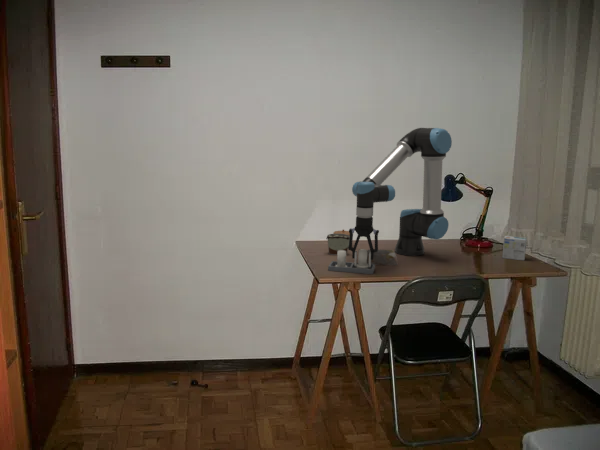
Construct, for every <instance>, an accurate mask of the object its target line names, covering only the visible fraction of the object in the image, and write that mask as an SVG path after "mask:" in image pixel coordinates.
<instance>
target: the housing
mask: <svg viewBox="0 0 600 450" xmlns="http://www.w3.org/2000/svg"><path fill="white" fill-rule="evenodd" d="M336 256H337V257H336V258H337V259H336V260H332V261H330V263H329V264H328V266H327V267H328V268H327V271H328V272H330V271H331V272H341V273H342V272H343V273H353V274H354V273H355V274H365V275H367V274H368V275H373V274H374V272H375V270H376V265H375V264H371V266H370V267H369V268H367V269H362V268H357V267H356V266H354V262H352V261H347V255H346V251H344V250H339V251H337V255H336ZM357 264H358V262H357ZM367 264H368V265H369V263H367Z"/></svg>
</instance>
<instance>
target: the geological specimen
mask: <svg viewBox="0 0 600 450" xmlns="http://www.w3.org/2000/svg"><path fill="white" fill-rule="evenodd" d="M369 252H371V251H370V249H367V263H369ZM371 264H375V266H398V265H399V263H398V257H397V253H396V252H395V250H393V249H378V251H377V252H375V253H374V258H373V260H371Z"/></svg>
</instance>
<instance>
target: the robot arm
mask: <svg viewBox="0 0 600 450" xmlns="http://www.w3.org/2000/svg"><path fill="white" fill-rule="evenodd" d="M452 141H453V140H452V135H451V134H450V133H449V132H448V130H446V129H445V128H439V127H417V128H415V129H413V130H411V131H409V132H408V133H406V134H405V135H404V136H402V138H401V139H399V140H398V142H396V146H395V147H394V148H393V149H392V151H390V153H388V154H387V156H386V157H384V159H383V160H382V161H381V162H380V163H379V164H378V165H377V166H376V167H375V168H374V169H373V170H372V171H371V172H370V173H369V174H368V175H367V176H366V177H365V178H364V179H363V180H362V181H356V182H354V184H353V185H352V187H351V190H352V191H351V192H352V194H353V196H355V197H356V208H355V209H356V210H355V211H356V212H355V215H356V217H355V226H354V227H353V228H352V227H351V228H349V230H348V231H349V233H350V238H349V246H348V251H351V252H352V254H351V256H352V259H354V260H353V261H354V262H353V263H354V266H356V265H357V263H358V250H357V247H358V245H359V241H360V239H361V238H363V237H364V238H366V241H367V243H368V247H369V250H370V251H371V252H369V262H368V264H369V267H370V266H371V260H373V258H374V253H375V252H377V251H378V250H379V238H378V237H379V233H380V230H379V229H375V228H374V225H373V220H374V217H373V216H374V204H375V203H384V202H385V203H387V202H391V201H393V200H394V199H395V197H396V189H395V188H394V186H393V185H392V184H391V185H390V184H383V183H384V182H385V181H386V180H387V179H388V177H390V176H391V175H392V174H393V172H395V171H396V170H397V168H399V166H400V165H402V163H404V161H405V160H406V159H407V158H411V157H412V156H413V155H414V154H415V153H418V152H420V154H421V155H420V157H421V159H423V161H424V162H423V187H422V188H423V190H422V191H423V194H422V195H423V196H422V208H411V209H410V208H409V209H408V208H407V209H402V210H401V211H400V216H399V234H398V235H399V236H398V239H397V242H396V245H395V248H394V252H395V254H398V255H401V256H402V255H403V256H409V257H410V256H411V257H412V256H422V255H424V254H425V246H424V243H423V238H424V237H425V238H427V239H429V240H440V239H441V238H443V237H444V236H445V235H446V233H447V231H448V229H449V220H448V219H447V218H446V217H445V211H444V210H443V209H442V208H441V207H442V186H443V185H442V184H443V182H442V179H443V160H444V159H445V158H446V157H447V153H449V152H450V149H451V148H452ZM382 184H383V185H382ZM354 233H356V234H357V237H356V239H355V242H354V245H353V240H354V239H353V238H354ZM372 233H373V235H374V246H373V242H372V238H371V234H372ZM422 237H423V238H422Z"/></svg>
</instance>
